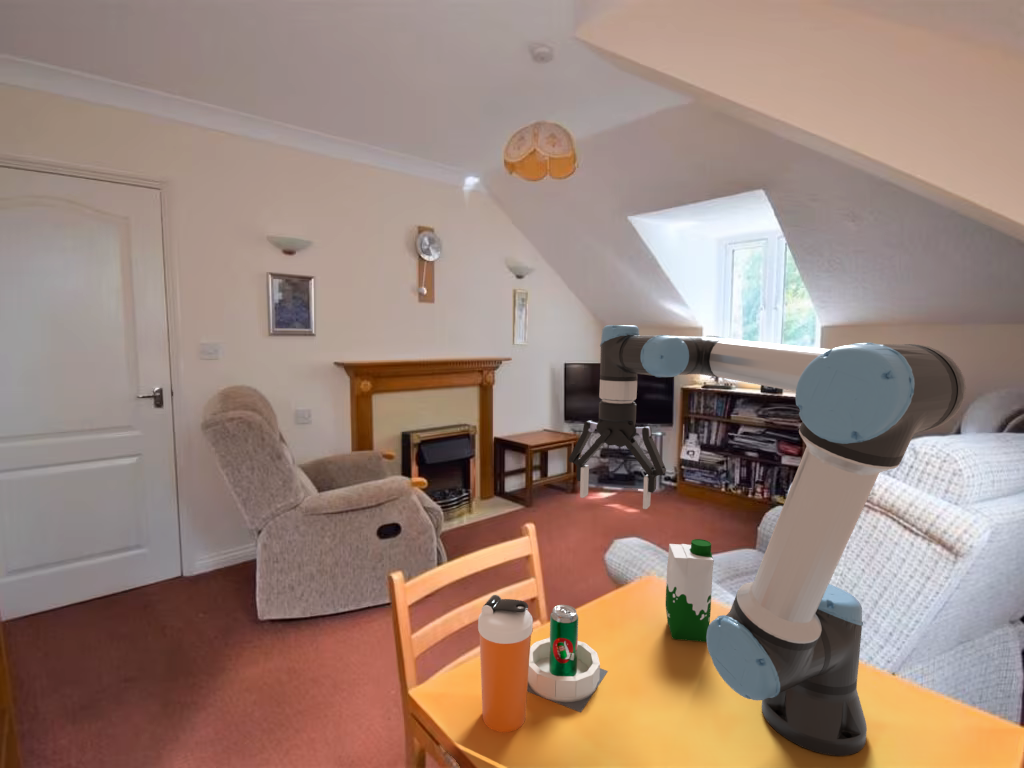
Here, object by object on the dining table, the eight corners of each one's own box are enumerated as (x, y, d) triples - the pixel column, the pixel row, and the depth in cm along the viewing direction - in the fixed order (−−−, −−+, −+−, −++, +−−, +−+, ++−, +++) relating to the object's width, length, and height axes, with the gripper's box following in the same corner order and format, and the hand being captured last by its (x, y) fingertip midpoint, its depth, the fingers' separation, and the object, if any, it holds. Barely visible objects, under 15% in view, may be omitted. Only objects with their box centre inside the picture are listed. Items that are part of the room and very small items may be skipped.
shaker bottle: (525, 742, 84) (528, 620, 82) (470, 733, 86) (471, 613, 84) (534, 704, 93) (537, 592, 91) (484, 696, 95) (485, 587, 93)
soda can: (561, 661, 103) (562, 600, 102) (582, 673, 99) (584, 611, 98) (543, 672, 99) (544, 610, 98) (564, 685, 96) (566, 621, 95)
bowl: (608, 670, 102) (609, 650, 101) (581, 712, 90) (581, 690, 90) (545, 649, 108) (546, 630, 108) (512, 685, 97) (513, 664, 97)
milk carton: (712, 645, 111) (717, 551, 110) (667, 641, 113) (671, 548, 111) (703, 622, 120) (708, 535, 118) (662, 619, 121) (665, 532, 119)
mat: (607, 673, 102) (607, 671, 102) (580, 714, 91) (580, 712, 91) (546, 651, 108) (546, 649, 108) (513, 687, 97) (513, 685, 97)
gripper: (684, 403, 108) (679, 506, 110) (569, 394, 120) (567, 487, 122) (675, 407, 101) (670, 517, 103) (554, 397, 114) (552, 496, 116)
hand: (614, 501), depth 113 cm, fingers open, 13 cm apart
